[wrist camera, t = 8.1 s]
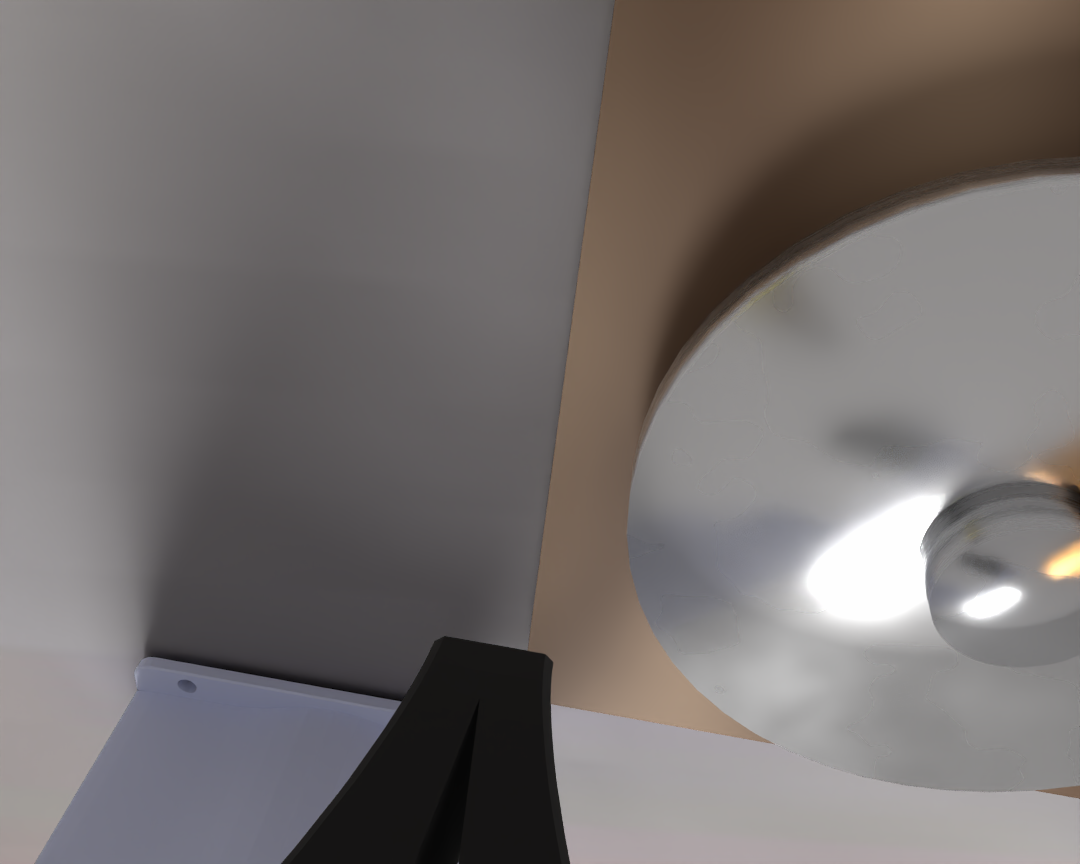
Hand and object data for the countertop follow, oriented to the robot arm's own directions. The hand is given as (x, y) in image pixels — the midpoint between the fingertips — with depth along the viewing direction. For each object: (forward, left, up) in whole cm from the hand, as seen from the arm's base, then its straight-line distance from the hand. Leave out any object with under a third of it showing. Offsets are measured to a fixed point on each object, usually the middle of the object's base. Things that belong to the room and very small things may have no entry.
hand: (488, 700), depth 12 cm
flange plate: (+8, -1, -7) cm, 11 cm away
